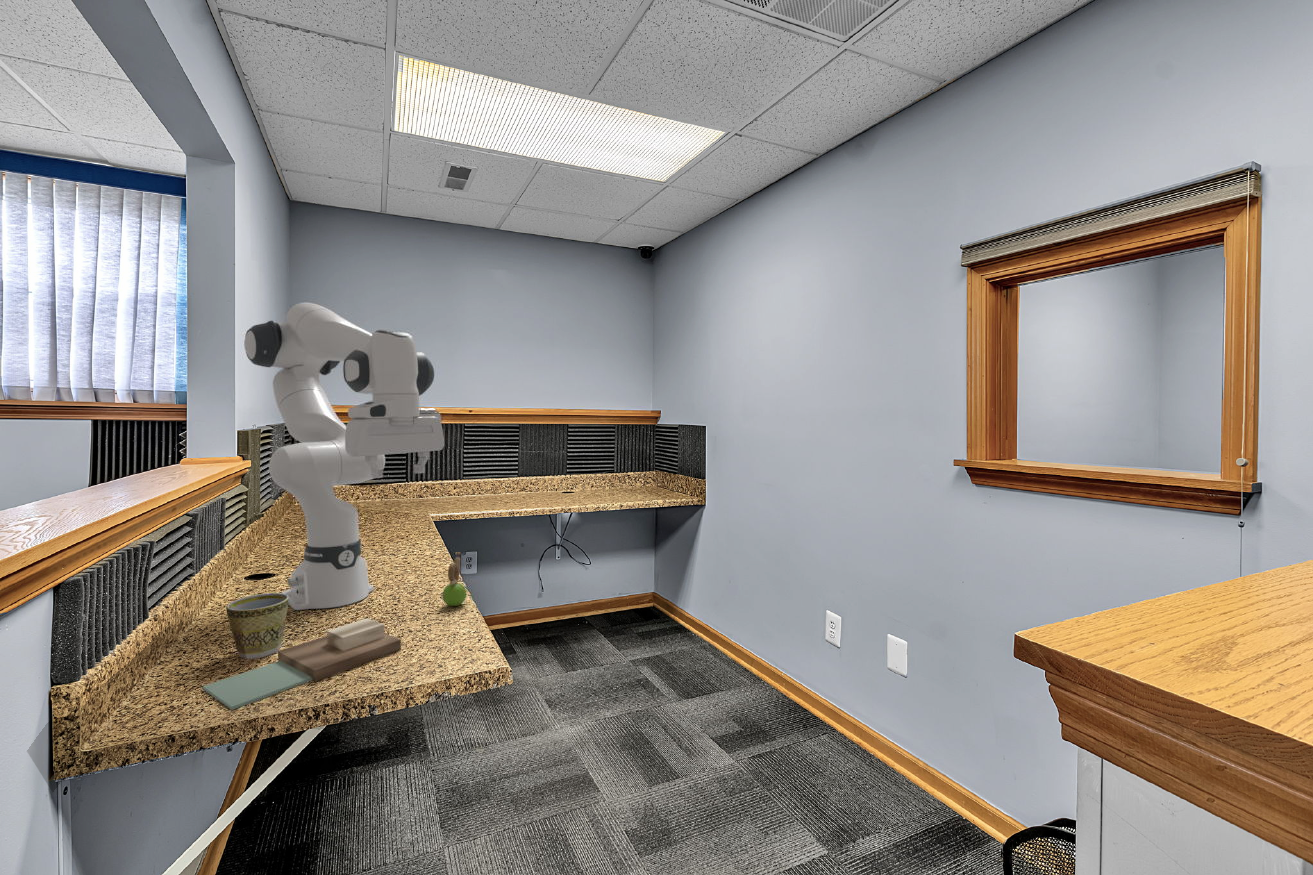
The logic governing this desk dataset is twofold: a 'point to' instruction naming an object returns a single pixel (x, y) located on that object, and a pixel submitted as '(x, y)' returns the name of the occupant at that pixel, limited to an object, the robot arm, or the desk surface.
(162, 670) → the desk surface
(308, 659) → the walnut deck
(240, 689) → the rubber mat
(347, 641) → the ash tile
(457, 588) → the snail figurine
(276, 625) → the ceramic cup
